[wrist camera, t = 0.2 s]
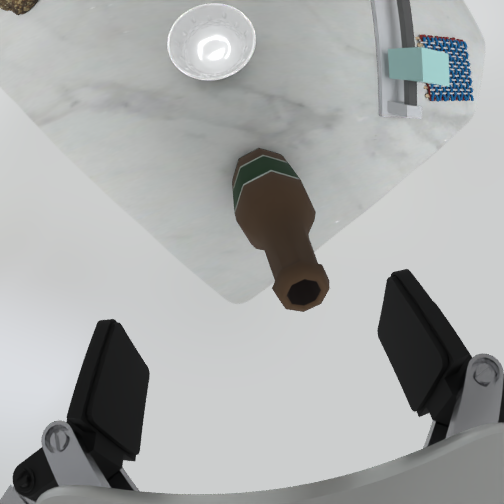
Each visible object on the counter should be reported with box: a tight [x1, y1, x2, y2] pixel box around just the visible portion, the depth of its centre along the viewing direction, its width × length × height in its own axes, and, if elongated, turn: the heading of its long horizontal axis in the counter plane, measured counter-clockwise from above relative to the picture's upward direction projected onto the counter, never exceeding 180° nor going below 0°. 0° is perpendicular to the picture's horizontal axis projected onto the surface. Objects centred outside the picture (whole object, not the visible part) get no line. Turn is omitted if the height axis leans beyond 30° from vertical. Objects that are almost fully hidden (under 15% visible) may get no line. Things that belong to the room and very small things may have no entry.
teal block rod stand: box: [371, 0, 422, 119], centre depth 24 cm, size 28×4×8 cm, turn 6°
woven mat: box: [415, 35, 474, 101], centre depth 30 cm, size 10×11×2 cm
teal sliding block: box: [388, 47, 450, 87], centre depth 25 cm, size 4×4×7 cm
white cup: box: [167, 3, 256, 80], centre depth 25 cm, size 8×8×10 cm
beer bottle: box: [232, 148, 329, 312], centre depth 28 cm, size 8×8×24 cm
